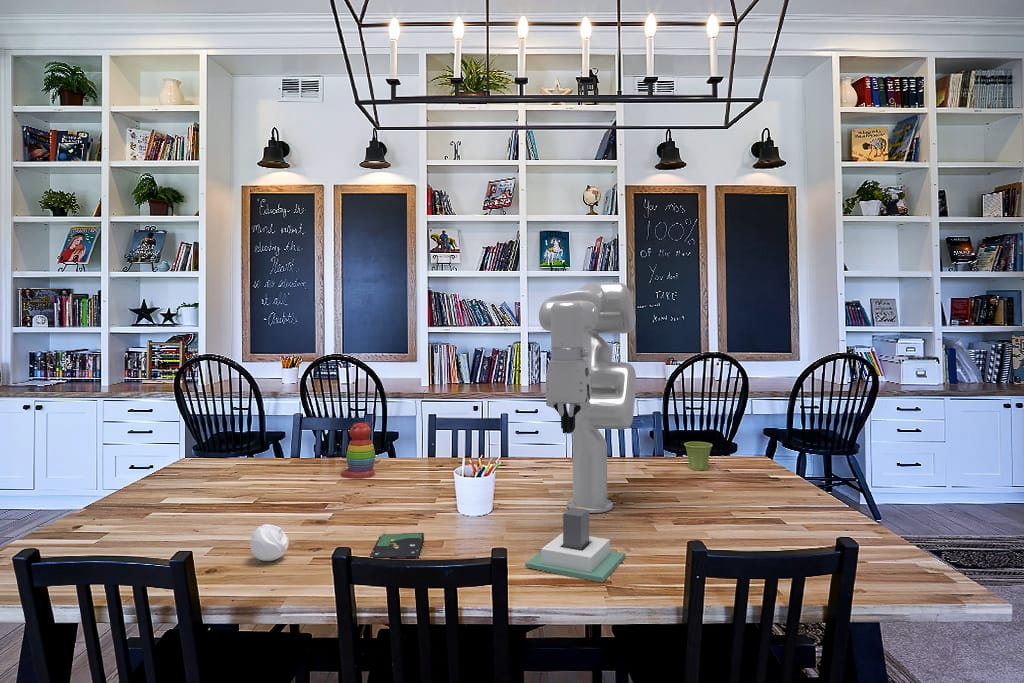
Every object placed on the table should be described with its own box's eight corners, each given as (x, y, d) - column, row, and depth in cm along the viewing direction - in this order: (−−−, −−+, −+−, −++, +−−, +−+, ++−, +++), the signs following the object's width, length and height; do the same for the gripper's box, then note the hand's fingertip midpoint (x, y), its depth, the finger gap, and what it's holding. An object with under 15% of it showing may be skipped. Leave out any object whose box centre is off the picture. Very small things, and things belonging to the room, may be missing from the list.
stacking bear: (367, 470, 224) (366, 419, 223) (382, 475, 216) (381, 422, 216) (338, 475, 217) (337, 422, 216) (353, 480, 209) (352, 426, 209)
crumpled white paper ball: (282, 566, 136) (281, 530, 136) (245, 567, 136) (244, 531, 136) (292, 552, 144) (291, 518, 144) (257, 553, 144) (256, 519, 143)
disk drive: (418, 568, 137) (424, 543, 151) (418, 555, 136) (424, 531, 151) (369, 569, 136) (380, 544, 151) (368, 556, 136) (379, 532, 151)
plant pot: (707, 473, 217) (708, 447, 217) (680, 469, 222) (680, 444, 222) (715, 467, 225) (715, 443, 225) (689, 464, 230) (689, 440, 230)
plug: (573, 551, 142) (573, 506, 141) (591, 553, 140) (591, 508, 140) (563, 560, 136) (563, 513, 136) (580, 563, 134) (580, 516, 134)
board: (553, 545, 148) (553, 528, 148) (625, 557, 140) (625, 539, 140) (525, 567, 135) (525, 549, 135) (602, 582, 127) (602, 562, 127)
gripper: (603, 354, 150) (603, 431, 152) (544, 352, 157) (545, 426, 158) (592, 357, 144) (593, 438, 145) (531, 355, 150) (532, 433, 151)
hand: (568, 432), depth 152 cm, fingers closed
